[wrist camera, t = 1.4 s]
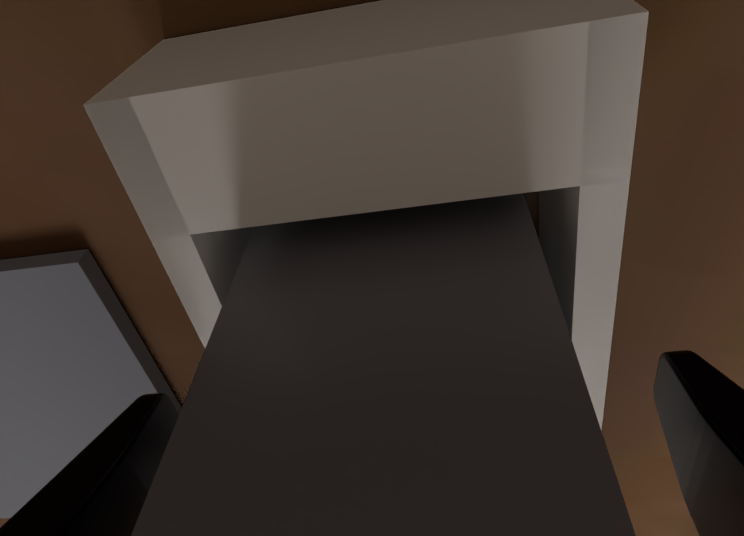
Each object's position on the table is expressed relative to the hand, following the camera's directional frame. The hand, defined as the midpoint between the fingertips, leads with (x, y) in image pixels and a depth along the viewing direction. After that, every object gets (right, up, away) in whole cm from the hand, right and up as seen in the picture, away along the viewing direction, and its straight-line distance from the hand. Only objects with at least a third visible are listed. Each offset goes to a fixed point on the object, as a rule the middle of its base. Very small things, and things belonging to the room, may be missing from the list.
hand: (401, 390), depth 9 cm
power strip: (+2, -5, +8) cm, 10 cm away
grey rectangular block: (0, +2, +3) cm, 4 cm away
